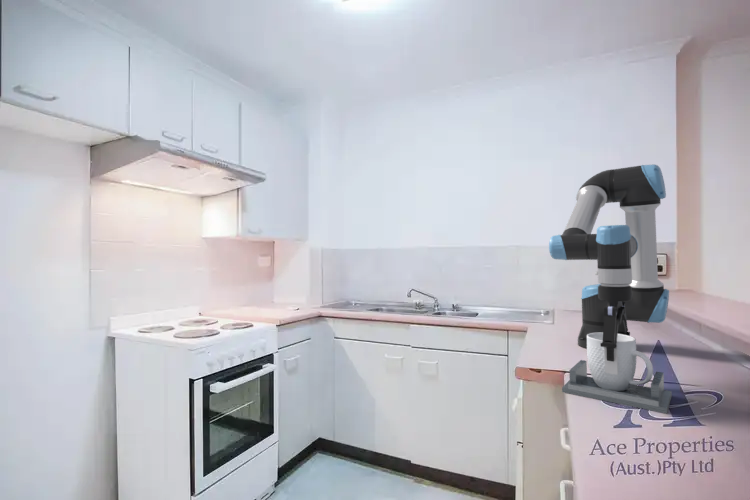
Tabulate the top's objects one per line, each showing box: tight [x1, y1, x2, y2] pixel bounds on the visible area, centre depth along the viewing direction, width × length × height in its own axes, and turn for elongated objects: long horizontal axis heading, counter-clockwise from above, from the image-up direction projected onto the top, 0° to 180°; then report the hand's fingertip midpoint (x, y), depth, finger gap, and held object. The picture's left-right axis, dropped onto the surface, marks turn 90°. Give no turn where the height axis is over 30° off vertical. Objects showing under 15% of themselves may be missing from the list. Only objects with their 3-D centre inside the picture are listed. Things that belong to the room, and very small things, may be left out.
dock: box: [561, 359, 672, 415], centre depth 100 cm, size 13×22×6 cm, turn 49°
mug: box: [586, 332, 654, 391], centre depth 100 cm, size 15×11×13 cm
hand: (616, 366), depth 102 cm, fingers open, 13 cm apart
